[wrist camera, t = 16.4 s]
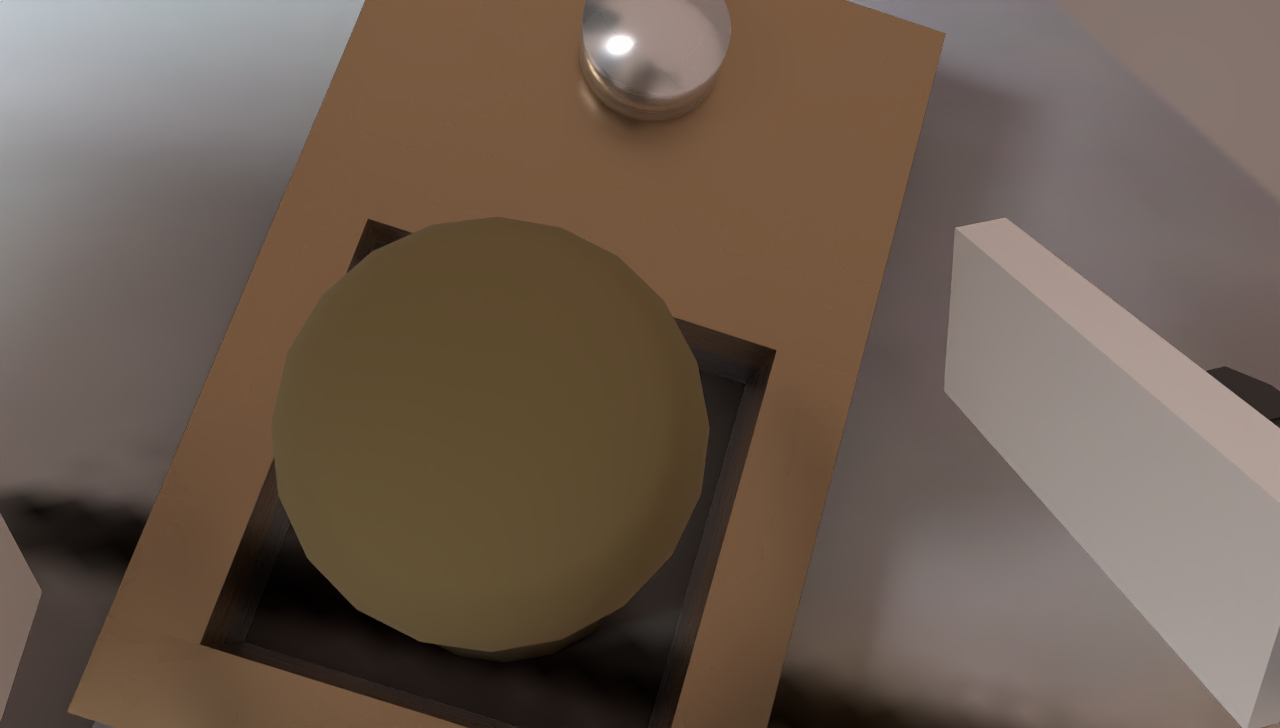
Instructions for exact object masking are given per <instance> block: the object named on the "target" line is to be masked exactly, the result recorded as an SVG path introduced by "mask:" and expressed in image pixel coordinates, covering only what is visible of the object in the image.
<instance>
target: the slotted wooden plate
mask: <svg viewBox="0 0 1280 728" xmlns="http://www.w3.org/2000/svg"><path fill="white" fill-rule="evenodd" d="M944 38H945V33H942V32H939V31H936V30H933V29H930V28H927V27H924V26H921V25H918V24H915V23H912V22H909V21H906V20H903V19H900V18H897V17H894V16H891V15H888V14H885V13H882V12H879V11H876V10H873V9H870V8H867V7H864V6H861V5H858V4H855V3H852V2H849V1H846V0H365V2H364V5H363V7H362V10H361V12H360V14H359V17H358V19H357V22H356V24H355V26H354V29H353V31H352V33H351V36H350V38H349V41H348V43H347V45H346V48H345V50H344V53H343V55H342V57H341V60H340V62H339V64H338V67H337V69H336V72H335V74H334V76H333V79H332V81H331V84H330V86H329V88H328V91H327V93H326V95H325V98H324V100H323V103H322V105H321V107H320V110H319V112H318V115H317V117H316V119H315V122H314V124H313V126H312V129H311V131H310V134H309V136H308V138H307V141H306V143H305V146H304V148H303V150H302V153H301V155H300V157H299V160H298V162H297V165H296V167H295V169H294V172H293V174H292V177H291V179H290V181H289V184H288V186H287V188H286V191H285V193H284V196H283V198H282V200H281V203H280V205H279V208H278V210H277V212H276V215H275V217H274V219H273V222H272V224H271V227H270V229H269V231H268V234H267V236H266V239H265V241H264V243H263V246H262V248H261V250H260V253H259V255H258V258H257V260H256V262H255V265H254V267H253V270H252V272H251V274H250V277H249V279H248V281H247V284H246V286H245V289H244V291H243V293H242V296H241V298H240V301H239V303H238V305H237V308H236V310H235V312H234V315H233V317H232V320H231V322H230V324H229V327H228V329H227V332H226V334H225V336H224V339H223V341H222V343H221V346H220V348H219V351H218V353H217V355H216V358H215V360H214V363H213V365H212V367H211V370H210V372H209V374H208V377H207V379H206V382H205V384H204V386H203V389H202V391H201V394H200V396H199V398H198V401H197V403H196V405H195V408H194V410H193V413H192V415H191V417H190V420H189V422H188V425H187V427H186V429H185V432H184V434H183V436H182V439H181V441H180V444H179V446H178V448H177V451H176V453H175V456H174V458H173V460H172V463H171V465H170V467H169V470H168V472H167V475H166V477H165V479H164V482H163V484H162V487H161V489H160V491H159V494H158V496H157V498H156V501H155V503H154V506H153V508H152V510H151V513H150V515H149V518H148V520H147V522H146V525H145V527H144V529H143V532H142V534H141V537H140V539H139V541H138V544H137V546H136V549H135V551H134V553H133V556H132V558H131V560H130V563H129V565H128V568H127V570H126V572H125V575H124V577H123V580H122V582H121V584H120V587H119V589H118V591H117V594H116V596H115V599H114V601H113V603H112V606H111V608H110V611H109V613H108V615H107V618H106V620H105V622H104V625H103V627H102V630H101V632H100V634H99V637H98V639H97V642H96V644H95V646H94V649H93V651H92V653H91V656H90V658H89V661H88V663H87V665H86V668H85V670H84V673H83V675H82V677H81V680H80V682H79V684H78V687H77V689H76V692H75V694H74V696H73V699H72V701H71V704H70V706H69V708H68V711H67V713H71V714H74V715H77V716H80V717H84V718H87V719H90V720H93V721H95V722H94V725H93V727H92V728H521V727H517V726H514V725H511V724H508V723H504V722H501V721H498V720H495V719H491V718H488V717H485V716H482V715H479V714H475V713H472V712H469V711H466V710H462V709H459V708H456V707H453V706H450V705H446V704H443V703H440V702H437V701H433V700H430V699H427V698H424V697H420V696H417V695H414V694H411V693H408V692H404V691H401V690H398V689H395V688H391V687H388V686H385V685H382V684H378V683H375V682H372V681H369V680H366V679H362V678H359V677H356V676H353V675H349V674H346V673H343V672H340V671H337V670H333V669H330V668H327V667H324V666H320V665H317V664H314V663H311V662H307V661H304V660H301V659H298V658H295V657H291V656H288V655H285V654H282V653H278V652H275V651H272V650H269V649H266V648H262V647H259V646H256V645H253V644H249V643H246V642H244V641H245V639H246V636H247V634H248V631H249V628H250V626H251V623H252V621H253V618H254V615H255V613H256V610H257V608H258V605H259V602H260V600H261V597H262V595H263V592H264V589H265V587H266V584H267V582H268V579H269V577H270V574H271V571H272V569H273V566H274V564H275V561H276V558H277V556H278V553H279V551H280V548H281V545H282V543H283V540H284V538H285V535H286V532H287V530H288V527H289V525H290V520H289V518H288V515H287V513H286V511H285V509H284V507H283V505H282V503H281V500H280V498H279V496H278V489H277V479H276V469H275V459H274V449H273V439H272V430H271V424H272V417H273V413H274V409H275V404H276V400H277V396H278V391H279V387H280V383H281V378H282V374H283V370H284V365H285V361H286V356H287V352H288V351H289V349H290V347H291V346H292V344H293V342H294V341H295V339H296V337H297V336H298V334H299V332H300V331H301V329H302V328H303V326H304V324H305V323H306V321H307V319H308V318H309V316H310V314H311V313H312V311H313V309H314V308H315V306H316V304H317V303H318V301H319V299H320V298H321V296H322V295H323V294H324V293H325V292H326V291H327V290H329V289H330V288H331V287H332V286H333V285H334V284H335V283H337V282H338V281H339V280H340V279H341V278H342V277H343V276H345V275H346V274H347V273H348V272H349V271H350V270H351V269H353V268H354V267H355V266H356V265H357V264H358V263H359V262H361V261H362V260H363V259H364V258H365V257H366V256H367V255H369V254H370V253H371V252H372V251H374V250H376V249H379V248H381V247H383V246H385V245H388V244H390V243H392V242H394V241H397V240H399V239H401V238H403V237H406V236H408V235H410V234H412V233H415V232H417V231H419V230H421V229H424V228H426V227H428V226H430V225H433V224H441V223H449V222H457V221H465V220H473V219H481V218H489V217H503V218H508V219H514V220H520V221H526V222H532V223H538V224H543V225H549V226H555V227H561V228H563V229H565V230H567V231H569V232H571V233H573V234H575V235H577V236H579V237H581V238H583V239H585V240H587V241H589V242H591V243H593V244H595V245H597V246H599V247H601V248H603V249H605V250H607V251H609V252H611V253H613V254H615V255H617V256H618V257H619V258H620V259H621V260H622V261H623V262H625V263H626V264H627V265H628V266H629V267H630V268H631V269H632V270H633V271H634V272H635V273H636V274H637V275H638V276H639V277H640V278H641V279H642V280H643V281H644V282H645V283H646V284H647V285H648V286H649V287H650V288H652V289H653V290H654V291H655V292H656V293H657V294H658V295H659V296H660V297H661V298H662V299H663V300H664V302H665V303H666V305H667V307H668V309H669V311H670V313H671V314H672V316H673V318H674V320H675V322H676V324H677V325H678V327H679V329H680V331H681V333H682V335H683V336H684V338H685V340H686V342H687V344H688V346H689V348H690V349H691V351H692V353H693V355H694V357H695V359H696V361H697V364H698V368H699V370H702V371H706V372H709V373H712V374H715V375H718V376H721V377H724V378H727V379H730V380H734V381H737V382H740V383H743V384H745V388H744V391H743V395H742V398H741V402H740V405H739V409H738V412H737V416H736V419H735V423H734V426H733V430H732V433H731V437H730V440H729V444H728V447H727V451H726V454H725V458H724V461H723V465H722V469H721V472H720V476H719V479H718V483H717V486H716V490H715V493H714V497H713V500H712V504H711V507H710V511H709V514H708V518H707V521H706V525H705V528H704V532H703V535H702V539H701V542H700V546H699V549H698V553H697V556H696V560H695V563H694V567H693V570H692V574H691V577H690V581H689V584H688V588H687V591H686V595H685V598H684V602H683V605H682V609H681V613H680V616H679V620H678V623H677V627H676V630H675V634H674V637H673V641H672V644H671V648H670V651H669V655H668V658H667V662H666V665H665V669H664V672H663V676H662V679H661V683H660V686H659V690H658V693H657V697H656V700H655V704H654V707H653V711H652V714H651V718H650V721H649V725H648V728H767V726H768V722H769V718H770V714H771V710H772V706H773V702H774V698H775V695H776V691H777V687H778V683H779V679H780V675H781V671H782V667H783V664H784V660H785V656H786V652H787V648H788V644H789V640H790V636H791V632H792V629H793V625H794V621H795V617H796V613H797V609H798V605H799V601H800V597H801V594H802V590H803V586H804V582H805V578H806V574H807V570H808V566H809V563H810V559H811V555H812V551H813V547H814V543H815V539H816V535H817V531H818V528H819V524H820V520H821V516H822V512H823V508H824V504H825V500H826V496H827V493H828V489H829V485H830V481H831V477H832V473H833V469H834V465H835V461H836V458H837V454H838V450H839V446H840V442H841V438H842V434H843V430H844V427H845V423H846V419H847V415H848V411H849V407H850V403H851V399H852V395H853V392H854V388H855V384H856V380H857V376H858V372H859V368H860V364H861V360H862V357H863V353H864V349H865V345H866V341H867V337H868V333H869V329H870V325H871V322H872V318H873V314H874V310H875V306H876V302H877V298H878V294H879V291H880V287H881V283H882V279H883V275H884V271H885V267H886V263H887V259H888V256H889V252H890V248H891V244H892V240H893V236H894V232H895V228H896V224H897V221H898V217H899V213H900V209H901V205H902V201H903V197H904V193H905V189H906V186H907V182H908V178H909V174H910V170H911V166H912V162H913V158H914V155H915V151H916V147H917V143H918V139H919V135H920V131H921V127H922V123H923V120H924V116H925V112H926V108H927V104H928V100H929V96H930V92H931V88H932V85H933V81H934V77H935V73H936V69H937V65H938V61H939V57H940V54H941V50H942V46H943V42H944Z"/></svg>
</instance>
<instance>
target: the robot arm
mask: <svg viewBox="0 0 1280 728" xmlns="http://www.w3.org/2000/svg"><path fill="white" fill-rule="evenodd" d="M944 392H945V393H946V394H947V395H948V396H949V397H950V398H951V400H952V401H953V402H954V403H955V404H956V405H957V406H958V407H959V409H960V410H961V411H962V412H963V413H964V414H965V415H966V416H967V418H968V419H969V420H970V421H971V422H972V423H973V424H974V425H975V427H976V428H977V429H978V430H979V431H980V432H981V433H982V435H983V436H984V437H985V438H986V439H987V440H988V441H989V442H990V444H991V445H992V446H993V447H994V448H995V449H996V450H997V451H998V453H999V454H1000V455H1001V456H1002V457H1003V458H1004V459H1005V460H1006V462H1007V463H1008V464H1009V465H1010V466H1011V467H1012V468H1013V470H1014V471H1015V472H1016V473H1017V474H1018V475H1019V476H1020V477H1021V479H1022V480H1023V481H1024V482H1025V483H1026V484H1027V485H1028V486H1029V488H1030V489H1031V490H1032V491H1033V492H1034V493H1035V494H1036V495H1037V497H1038V498H1039V499H1040V500H1041V501H1042V502H1043V503H1044V505H1045V506H1046V507H1047V508H1048V509H1049V510H1050V511H1051V512H1052V514H1053V515H1054V516H1055V517H1056V518H1057V519H1058V520H1059V521H1060V523H1061V524H1062V525H1063V526H1064V527H1065V528H1066V529H1067V530H1068V532H1069V533H1070V534H1071V535H1072V536H1073V537H1074V538H1075V540H1076V541H1077V542H1078V543H1079V544H1080V545H1081V546H1082V547H1083V549H1084V550H1085V551H1086V552H1087V553H1088V554H1089V555H1090V556H1091V558H1092V559H1093V560H1094V561H1095V562H1096V563H1097V564H1098V565H1099V567H1100V568H1101V569H1102V570H1103V571H1104V572H1105V573H1106V575H1107V576H1108V577H1109V578H1110V579H1111V580H1112V581H1113V582H1114V584H1115V585H1116V586H1117V587H1118V588H1119V589H1120V590H1121V591H1122V593H1123V594H1124V595H1125V596H1126V597H1127V598H1128V599H1129V600H1130V602H1131V603H1132V604H1133V605H1134V606H1135V607H1136V608H1137V610H1138V611H1139V612H1140V613H1141V614H1142V615H1143V616H1144V617H1145V619H1146V620H1147V621H1148V622H1149V623H1150V624H1151V625H1152V626H1153V628H1154V629H1155V630H1156V631H1157V632H1158V633H1159V634H1160V635H1161V637H1162V638H1163V639H1164V640H1165V641H1166V642H1167V643H1168V645H1169V646H1170V647H1171V648H1172V649H1173V650H1174V651H1175V652H1176V654H1177V655H1178V656H1179V657H1180V658H1181V659H1182V660H1183V661H1184V663H1185V664H1186V665H1187V666H1188V667H1189V668H1190V669H1191V670H1192V672H1193V673H1194V674H1195V675H1196V676H1197V677H1198V678H1199V680H1200V681H1201V682H1202V683H1203V684H1204V685H1205V686H1206V687H1207V689H1208V690H1209V691H1210V692H1211V693H1212V694H1213V695H1214V696H1215V698H1216V699H1217V700H1218V701H1219V702H1220V703H1221V704H1222V705H1223V707H1224V708H1225V709H1226V710H1227V711H1228V712H1229V713H1230V715H1231V716H1232V717H1233V718H1234V719H1235V720H1236V721H1237V722H1238V724H1239V725H1240V726H1241V727H1242V728H1262V727H1265V726H1269V725H1272V724H1276V723H1279V722H1280V391H1278V390H1277V389H1276V388H1274V387H1273V386H1271V385H1269V384H1267V383H1264V382H1262V381H1259V380H1257V379H1255V378H1252V377H1250V376H1247V375H1245V374H1242V373H1240V372H1238V371H1235V370H1233V369H1230V368H1228V367H1221V368H1216V369H1212V370H1208V371H1205V370H1203V369H1202V368H1201V367H1199V366H1198V365H1197V364H1195V363H1194V362H1193V361H1192V360H1190V359H1189V358H1188V357H1186V356H1185V355H1184V354H1182V353H1181V352H1180V351H1179V350H1177V349H1176V348H1175V347H1173V346H1172V345H1171V344H1169V343H1168V342H1167V341H1166V340H1164V339H1163V338H1162V337H1160V336H1159V335H1158V334H1156V333H1155V332H1154V331H1153V330H1151V329H1150V328H1149V327H1147V326H1146V325H1145V324H1143V323H1142V322H1141V321H1140V320H1138V319H1137V318H1136V317H1134V316H1133V315H1132V314H1130V313H1129V312H1128V311H1127V310H1125V309H1124V308H1123V307H1121V306H1120V305H1119V304H1117V303H1116V302H1115V301H1114V300H1112V299H1111V298H1110V297H1108V296H1107V295H1106V294H1104V293H1103V292H1102V291H1101V290H1099V289H1098V288H1097V287H1095V286H1094V285H1093V284H1091V283H1090V282H1089V281H1088V280H1086V279H1085V278H1084V277H1082V276H1081V275H1080V274H1078V273H1077V272H1076V271H1075V270H1073V269H1072V268H1071V267H1069V266H1068V265H1067V264H1065V263H1064V262H1063V261H1062V260H1060V259H1059V258H1058V257H1056V256H1055V255H1054V254H1052V253H1051V252H1050V251H1049V250H1047V249H1046V248H1045V247H1043V246H1042V245H1041V244H1039V243H1038V242H1037V241H1036V240H1034V239H1033V238H1032V237H1030V236H1029V235H1028V234H1026V233H1025V232H1024V231H1023V230H1021V229H1020V228H1019V227H1017V226H1016V225H1015V224H1013V223H1012V222H1011V221H1010V220H1008V219H1007V218H1006V217H1005V218H1000V219H995V220H990V221H985V222H980V223H975V224H970V225H965V226H960V227H955V237H954V251H953V265H952V279H951V294H950V308H949V322H948V336H947V350H946V365H945V379H944ZM41 594H42V591H41V589H40V587H39V585H38V583H37V581H36V579H35V577H34V576H33V574H32V572H31V570H30V568H29V566H28V564H27V562H26V561H25V559H24V557H23V555H22V553H21V551H20V549H19V547H18V546H17V544H16V542H15V540H14V538H13V536H12V534H11V532H10V531H9V529H8V527H7V525H6V523H5V521H4V519H3V517H2V516H1V514H0V722H1V719H2V716H3V713H4V710H5V706H6V703H7V700H8V697H9V694H10V691H11V688H12V685H13V682H14V678H15V675H16V672H17V669H18V666H19V663H20V660H21V657H22V654H23V650H24V647H25V644H26V641H27V638H28V635H29V632H30V629H31V626H32V622H33V619H34V616H35V613H36V610H37V607H38V604H39V601H40V598H41Z"/></svg>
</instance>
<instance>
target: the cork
mask: <svg viewBox="0 0 1280 728" xmlns="http://www.w3.org/2000/svg"><path fill="white" fill-rule="evenodd" d="M271 430H272V439H273V449H274V459H275V469H276V479H277V489H278V496H279V498H280V500H281V503H282V505H283V507H284V509H285V511H286V513H287V515H288V518H289V520H290V522H291V524H292V526H293V528H294V531H295V533H296V535H297V537H298V539H299V541H300V544H301V546H302V548H303V550H304V552H305V554H306V557H307V559H308V560H309V561H310V562H311V563H312V564H313V565H314V566H315V567H316V568H317V569H318V570H319V571H320V572H321V573H322V574H323V575H324V576H325V577H326V578H327V579H328V580H329V581H330V582H331V583H332V585H333V586H334V587H335V588H336V589H337V590H338V591H339V592H340V593H341V594H342V595H343V596H344V597H345V598H346V599H347V600H348V601H349V602H350V603H351V604H352V605H353V606H354V607H355V608H356V609H357V610H359V611H361V612H363V613H365V614H367V615H369V616H370V617H372V618H374V619H376V620H378V621H380V622H382V623H384V624H386V625H388V626H390V627H392V628H394V629H396V630H398V631H400V632H402V633H404V634H406V635H408V636H410V637H412V638H414V639H416V640H418V641H420V642H425V643H432V644H436V645H438V646H439V647H441V648H443V649H445V650H447V651H449V652H451V653H453V654H455V655H457V656H463V657H469V658H476V659H483V660H490V661H497V662H504V663H507V662H512V661H518V660H523V659H529V658H534V657H540V656H545V655H551V654H554V653H556V652H558V651H559V650H561V649H563V648H565V647H567V646H569V645H571V644H572V643H574V642H576V641H578V640H580V639H582V638H583V637H585V636H587V635H589V634H591V633H593V632H595V631H596V630H597V629H598V628H599V627H600V625H601V624H602V623H603V622H604V621H605V620H606V619H607V618H608V617H609V616H610V615H611V614H612V613H613V612H614V611H615V610H617V609H619V608H621V607H623V606H625V604H626V603H627V602H628V601H629V600H630V599H631V598H632V597H633V596H634V595H635V594H636V593H637V592H638V591H639V590H640V589H641V588H642V587H643V586H644V584H645V583H646V582H647V581H648V580H649V579H650V578H651V577H652V576H653V575H654V574H655V573H656V572H657V571H658V570H659V569H660V568H661V567H662V565H663V564H664V563H665V562H666V561H667V560H668V559H669V558H670V557H671V556H672V555H673V552H674V550H675V548H676V546H677V544H678V542H679V540H680V538H681V536H682V534H683V531H684V529H685V527H686V525H687V523H688V521H689V519H690V517H691V515H692V512H693V510H694V508H695V506H696V504H697V502H698V500H699V498H700V496H701V492H702V485H703V477H704V469H705V461H706V454H707V446H708V438H709V430H710V427H709V421H708V416H707V411H706V405H705V400H704V395H703V390H702V384H701V379H700V374H699V368H698V364H697V361H696V359H695V357H694V355H693V353H692V351H691V349H690V348H689V346H688V344H687V342H686V340H685V338H684V336H683V335H682V333H681V331H680V329H679V327H678V325H677V324H676V322H675V320H674V318H673V316H672V314H671V313H670V311H669V309H668V307H667V305H666V303H665V302H664V300H663V299H662V298H661V297H660V296H659V295H658V294H657V293H656V292H655V291H654V290H653V289H652V288H650V287H649V286H648V285H647V284H646V283H645V282H644V281H643V280H642V279H641V278H640V277H639V276H638V275H637V274H636V273H635V272H634V271H633V270H632V269H631V268H630V267H629V266H628V265H627V264H626V263H625V262H623V261H622V260H621V259H620V258H619V257H618V256H617V255H615V254H613V253H611V252H609V251H607V250H605V249H603V248H601V247H599V246H597V245H595V244H593V243H591V242H589V241H587V240H585V239H583V238H581V237H579V236H577V235H575V234H573V233H571V232H569V231H567V230H565V229H563V228H561V227H555V226H549V225H543V224H538V223H532V222H526V221H520V220H514V219H508V218H503V217H489V218H481V219H473V220H465V221H457V222H449V223H441V224H433V225H430V226H428V227H426V228H424V229H421V230H419V231H417V232H415V233H412V234H410V235H408V236H406V237H403V238H401V239H399V240H397V241H394V242H392V243H390V244H388V245H385V246H383V247H381V248H379V249H376V250H374V251H372V252H371V253H370V254H369V255H367V256H366V257H365V258H364V259H363V260H362V261H361V262H359V263H358V264H357V265H356V266H355V267H354V268H353V269H351V270H350V271H349V272H348V273H347V274H346V275H345V276H343V277H342V278H341V279H340V280H339V281H338V282H337V283H335V284H334V285H333V286H332V287H331V288H330V289H329V290H327V291H326V292H325V293H324V294H323V295H322V296H321V298H320V299H319V301H318V303H317V304H316V306H315V308H314V309H313V311H312V313H311V314H310V316H309V318H308V319H307V321H306V323H305V324H304V326H303V328H302V329H301V331H300V332H299V334H298V336H297V337H296V339H295V341H294V342H293V344H292V346H291V347H290V349H289V351H288V352H287V356H286V361H285V365H284V370H283V374H282V378H281V383H280V387H279V391H278V396H277V400H276V404H275V409H274V413H273V417H272V424H271Z"/></svg>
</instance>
